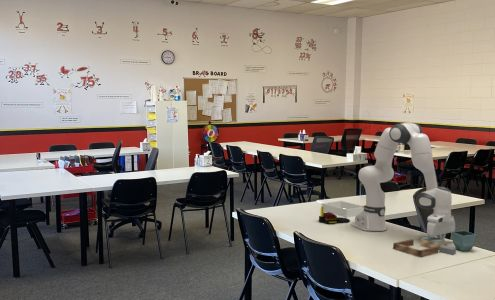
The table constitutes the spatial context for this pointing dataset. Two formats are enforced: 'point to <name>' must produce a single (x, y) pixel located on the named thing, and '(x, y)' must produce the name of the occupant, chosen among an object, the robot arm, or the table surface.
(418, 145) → the robot arm
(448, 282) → the table surface
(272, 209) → the table surface
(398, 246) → the bay
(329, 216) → the fire station toy set
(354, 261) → the table surface
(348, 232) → the table surface
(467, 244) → the flower pot
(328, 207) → the toy storage tray
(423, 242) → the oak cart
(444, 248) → the block
